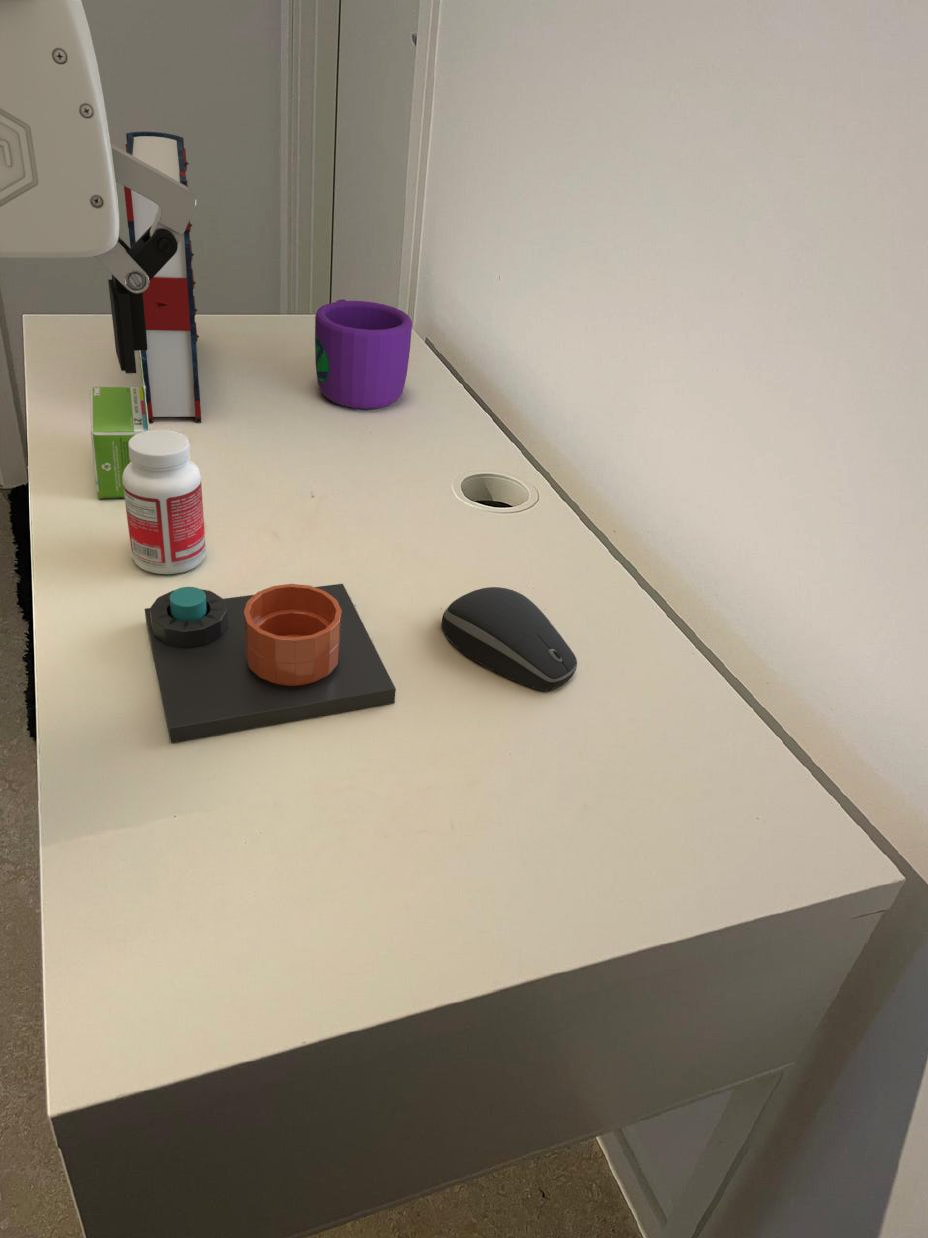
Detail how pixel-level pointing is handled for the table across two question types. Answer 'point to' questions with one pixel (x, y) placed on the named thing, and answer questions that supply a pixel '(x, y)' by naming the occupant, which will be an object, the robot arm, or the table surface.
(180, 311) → the book
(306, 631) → the bowl
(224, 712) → the scale
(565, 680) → the computer mouse
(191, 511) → the pill bottle
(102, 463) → the ink box
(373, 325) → the mug
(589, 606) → the table surface
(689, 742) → the table surface
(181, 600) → the button
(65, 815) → the table surface
